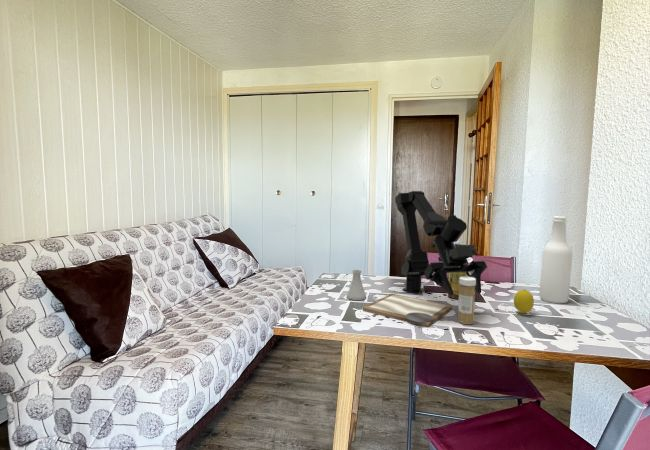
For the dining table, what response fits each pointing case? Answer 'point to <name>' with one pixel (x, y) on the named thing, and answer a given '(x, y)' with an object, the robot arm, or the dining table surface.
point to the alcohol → (556, 265)
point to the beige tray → (408, 309)
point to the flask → (356, 287)
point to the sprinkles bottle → (466, 300)
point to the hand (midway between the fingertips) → (466, 294)
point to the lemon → (523, 301)
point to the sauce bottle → (456, 277)
